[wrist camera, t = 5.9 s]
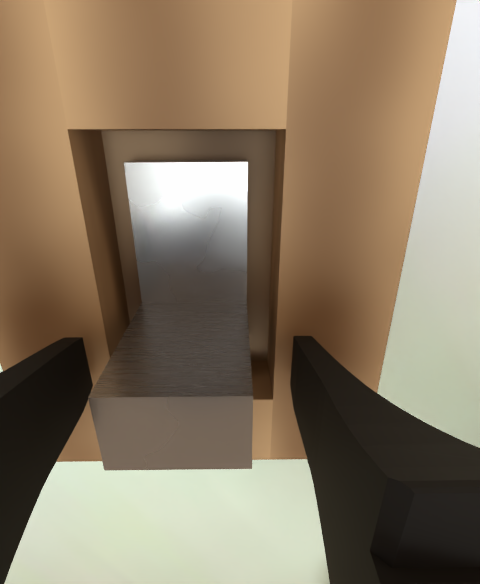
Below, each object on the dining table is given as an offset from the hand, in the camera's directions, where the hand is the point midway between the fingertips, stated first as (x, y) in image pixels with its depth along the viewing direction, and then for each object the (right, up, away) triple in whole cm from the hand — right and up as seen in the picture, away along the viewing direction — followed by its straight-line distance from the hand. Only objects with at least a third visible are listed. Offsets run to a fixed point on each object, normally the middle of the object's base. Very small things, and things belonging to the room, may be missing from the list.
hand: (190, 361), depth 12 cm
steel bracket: (0, +4, +2) cm, 4 cm away
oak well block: (0, +4, +2) cm, 4 cm away
